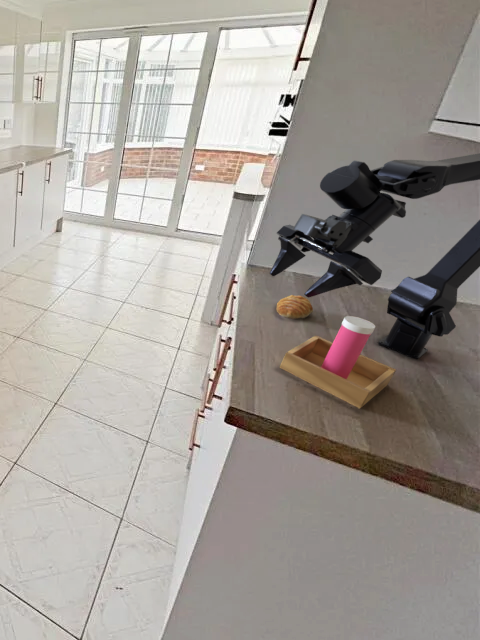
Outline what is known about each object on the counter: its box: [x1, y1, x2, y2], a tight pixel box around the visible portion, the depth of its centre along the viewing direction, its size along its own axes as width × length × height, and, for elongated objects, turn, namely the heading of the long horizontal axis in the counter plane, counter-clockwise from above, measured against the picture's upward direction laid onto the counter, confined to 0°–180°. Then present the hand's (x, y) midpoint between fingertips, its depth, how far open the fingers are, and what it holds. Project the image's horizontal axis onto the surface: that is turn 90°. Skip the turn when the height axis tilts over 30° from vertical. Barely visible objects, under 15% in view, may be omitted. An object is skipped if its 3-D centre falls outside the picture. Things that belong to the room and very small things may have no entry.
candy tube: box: [321, 315, 376, 379], centre depth 75 cm, size 4×4×12 cm
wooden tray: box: [279, 335, 397, 409], centre depth 77 cm, size 13×13×4 cm
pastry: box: [276, 294, 314, 320], centre depth 100 cm, size 9×7×4 cm
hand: (287, 285), depth 81 cm, fingers open, 9 cm apart
